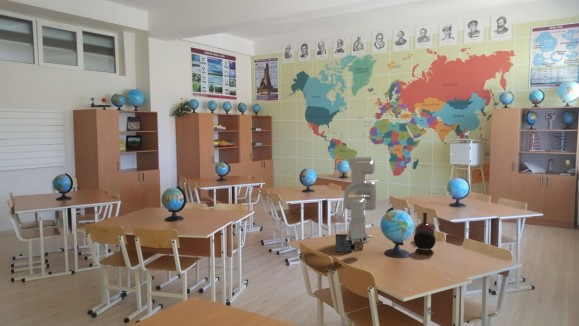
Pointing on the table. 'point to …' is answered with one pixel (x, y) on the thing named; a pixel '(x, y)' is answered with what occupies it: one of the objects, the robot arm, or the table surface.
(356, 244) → the walnut cube
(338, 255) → the table surface
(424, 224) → the round-bottom flask
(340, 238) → the small box
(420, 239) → the black round ball
